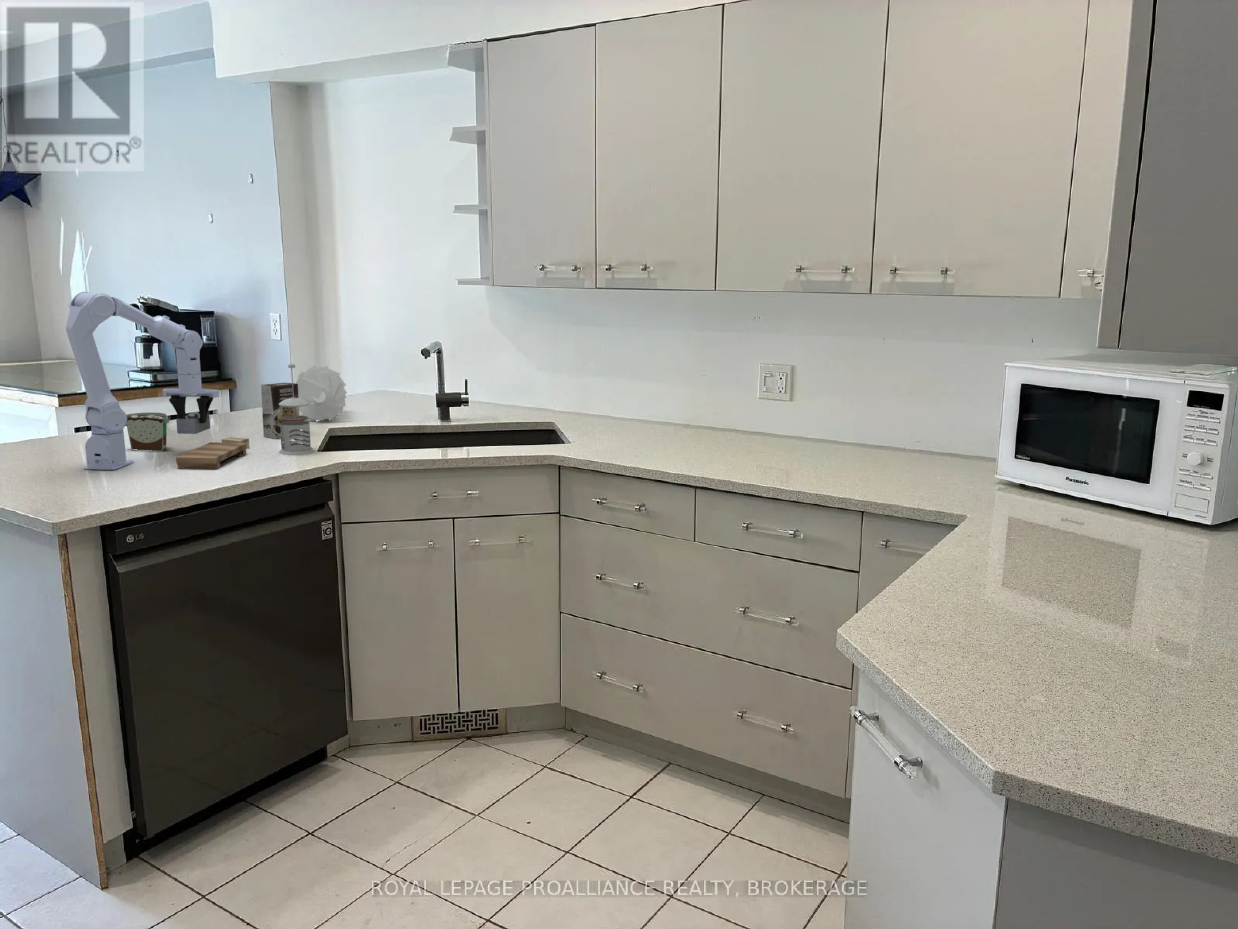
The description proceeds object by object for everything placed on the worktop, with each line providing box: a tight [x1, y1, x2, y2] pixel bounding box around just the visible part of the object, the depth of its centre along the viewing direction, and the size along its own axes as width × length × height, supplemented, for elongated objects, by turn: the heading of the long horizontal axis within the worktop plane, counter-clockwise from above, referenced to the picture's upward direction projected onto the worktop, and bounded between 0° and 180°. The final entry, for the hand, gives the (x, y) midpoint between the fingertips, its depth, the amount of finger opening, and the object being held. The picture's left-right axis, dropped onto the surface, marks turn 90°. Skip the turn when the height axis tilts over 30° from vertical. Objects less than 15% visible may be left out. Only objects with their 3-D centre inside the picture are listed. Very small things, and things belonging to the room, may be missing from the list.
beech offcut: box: [221, 436, 251, 449], centre depth 257 cm, size 4×6×3 cm, turn 73°
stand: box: [175, 441, 247, 470], centre depth 241 cm, size 20×10×3 cm, turn 0°
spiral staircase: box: [295, 364, 348, 422], centre depth 309 cm, size 18×18×25 cm
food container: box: [126, 411, 170, 452], centre depth 254 cm, size 12×6×10 cm, turn 84°
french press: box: [270, 362, 316, 456], centre depth 252 cm, size 10×12×25 cm
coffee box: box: [260, 382, 301, 440], centre depth 275 cm, size 9×6×16 cm
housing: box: [175, 411, 211, 435], centre depth 250 cm, size 9×5×5 cm, turn 0°
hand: (193, 422), depth 249 cm, fingers closed on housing, 5 cm apart
